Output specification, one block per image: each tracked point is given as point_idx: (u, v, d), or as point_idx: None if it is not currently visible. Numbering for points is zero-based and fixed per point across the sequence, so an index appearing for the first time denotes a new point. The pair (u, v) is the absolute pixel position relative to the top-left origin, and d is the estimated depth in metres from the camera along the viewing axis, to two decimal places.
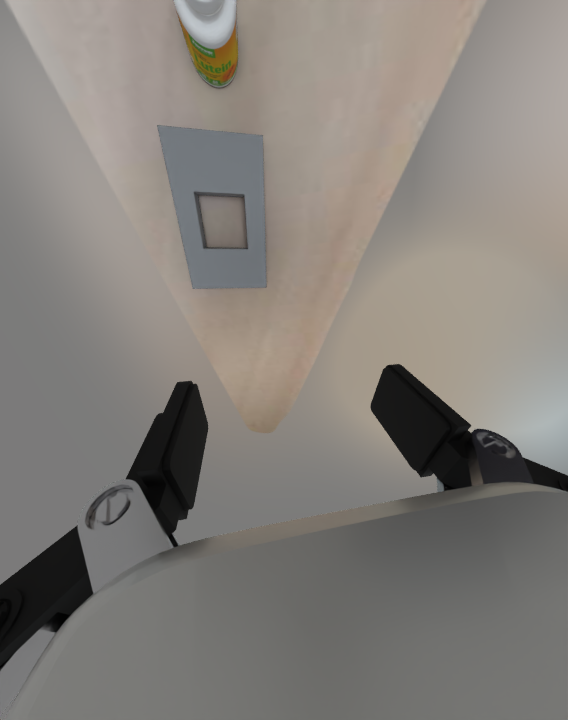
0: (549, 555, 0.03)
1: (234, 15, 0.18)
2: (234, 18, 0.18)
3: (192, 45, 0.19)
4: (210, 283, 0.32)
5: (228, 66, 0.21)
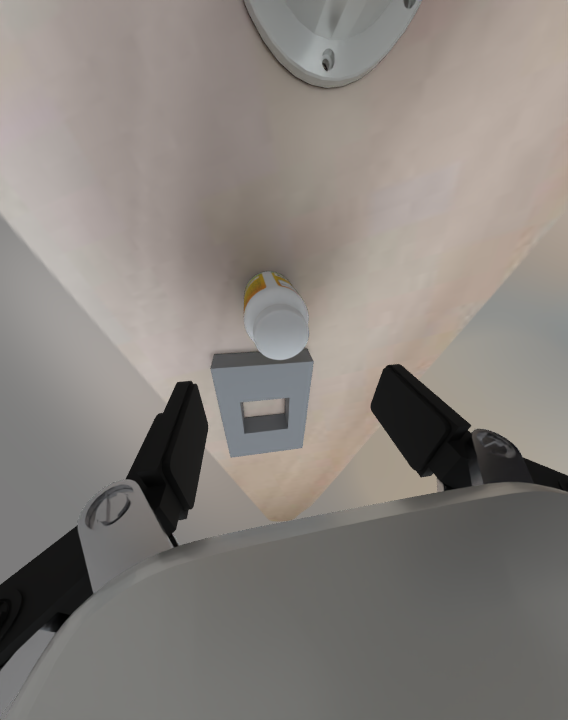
0: (549, 555, 0.03)
1: None
2: None
3: None
4: (248, 452, 0.32)
5: None
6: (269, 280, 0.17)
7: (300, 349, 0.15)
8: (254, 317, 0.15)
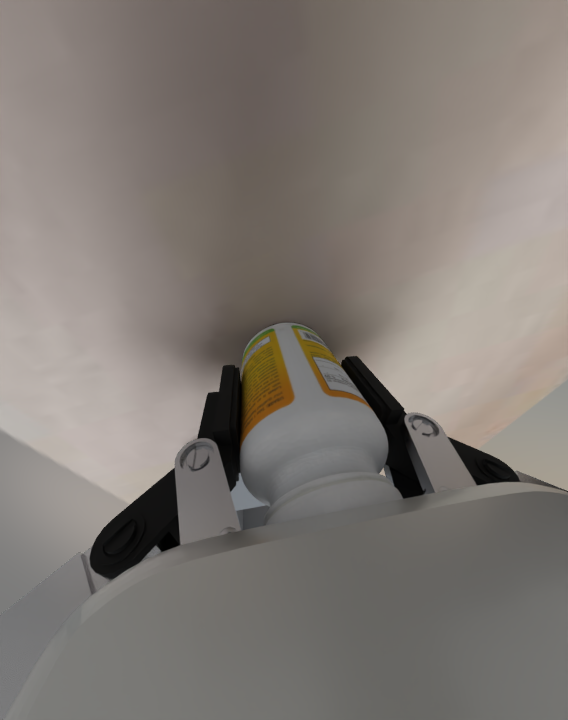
0: (549, 555, 0.03)
1: None
2: None
3: None
4: None
5: None
6: (295, 362, 0.08)
7: None
8: (266, 480, 0.06)
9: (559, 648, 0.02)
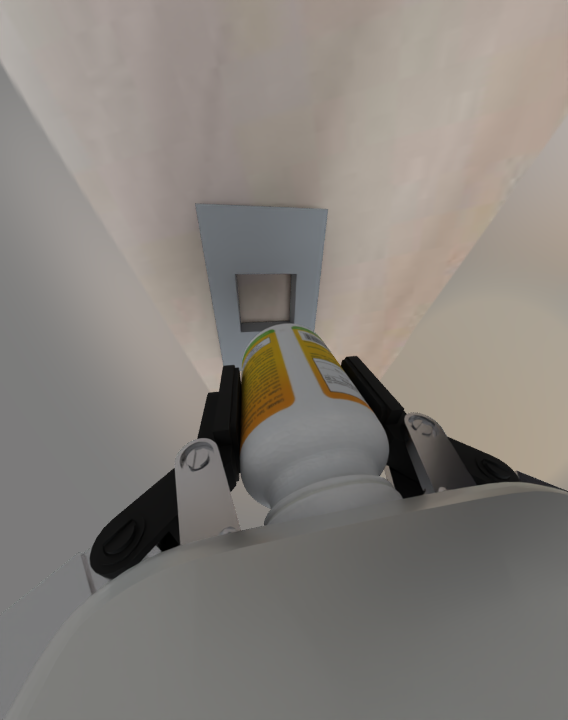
0: (549, 555, 0.03)
1: None
2: None
3: None
4: None
5: None
6: (296, 363, 0.08)
7: None
8: (266, 483, 0.06)
9: (559, 648, 0.02)
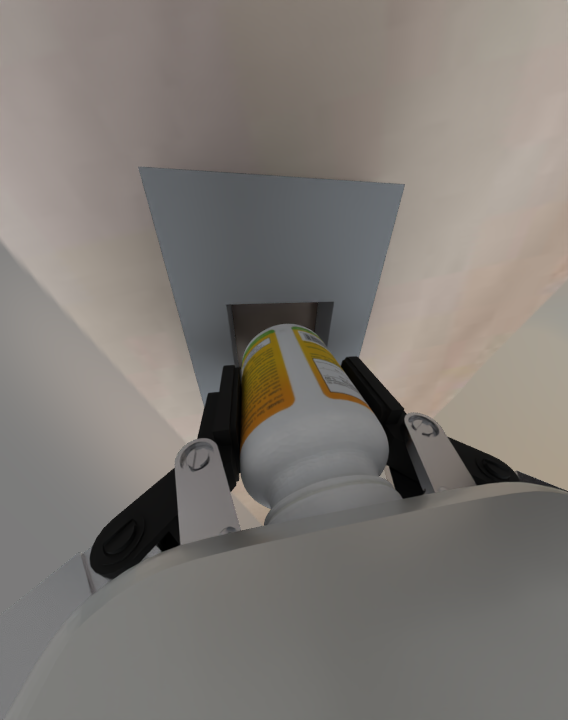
0: (549, 555, 0.03)
1: None
2: None
3: None
4: None
5: None
6: (296, 363, 0.08)
7: None
8: (266, 483, 0.06)
9: (559, 648, 0.02)
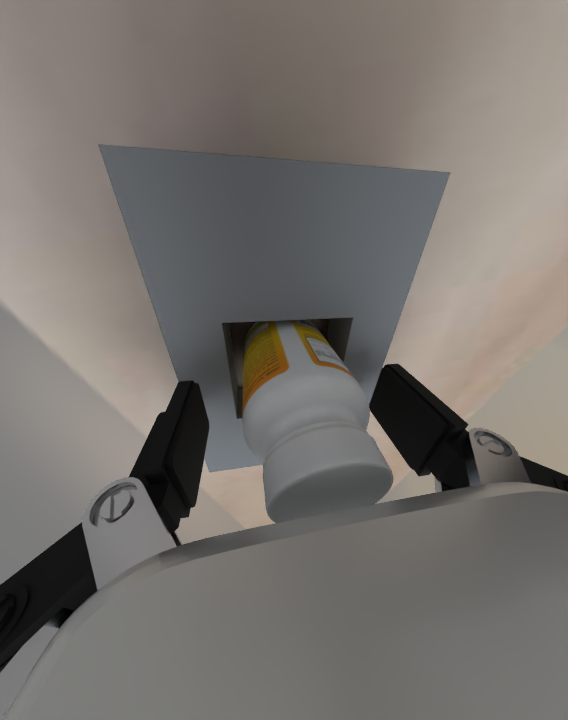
0: (549, 555, 0.03)
1: None
2: None
3: None
4: (245, 461, 0.16)
5: None
6: (291, 341, 0.09)
7: None
8: (265, 434, 0.07)
9: (559, 648, 0.02)
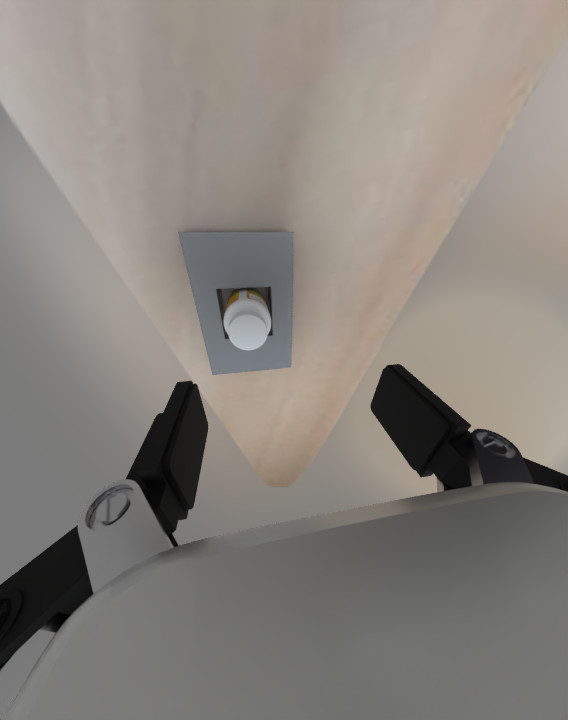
0: (549, 555, 0.03)
1: (269, 330, 0.23)
2: (269, 330, 0.23)
3: None
4: (231, 369, 0.30)
5: None
6: (242, 294, 0.23)
7: (262, 342, 0.21)
8: (230, 320, 0.21)
9: (559, 648, 0.02)
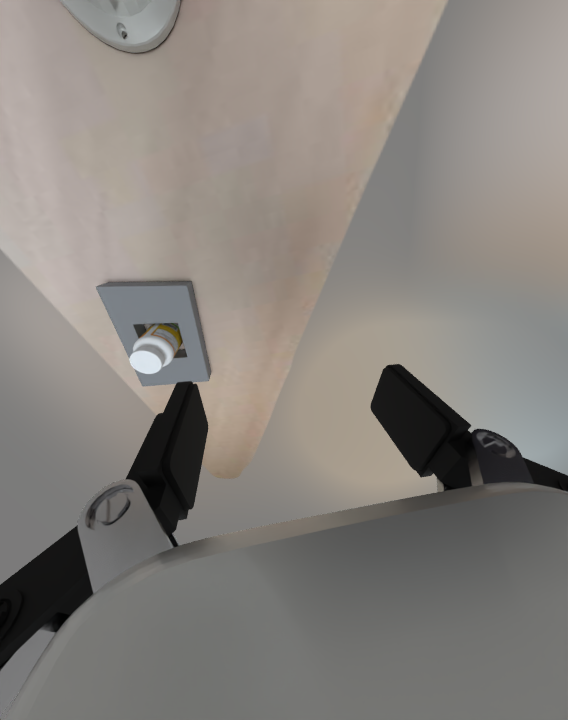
0: (549, 555, 0.03)
1: (172, 357, 0.31)
2: (172, 357, 0.31)
3: None
4: (157, 382, 0.37)
5: None
6: (151, 329, 0.31)
7: (159, 368, 0.29)
8: None
9: (559, 648, 0.02)
